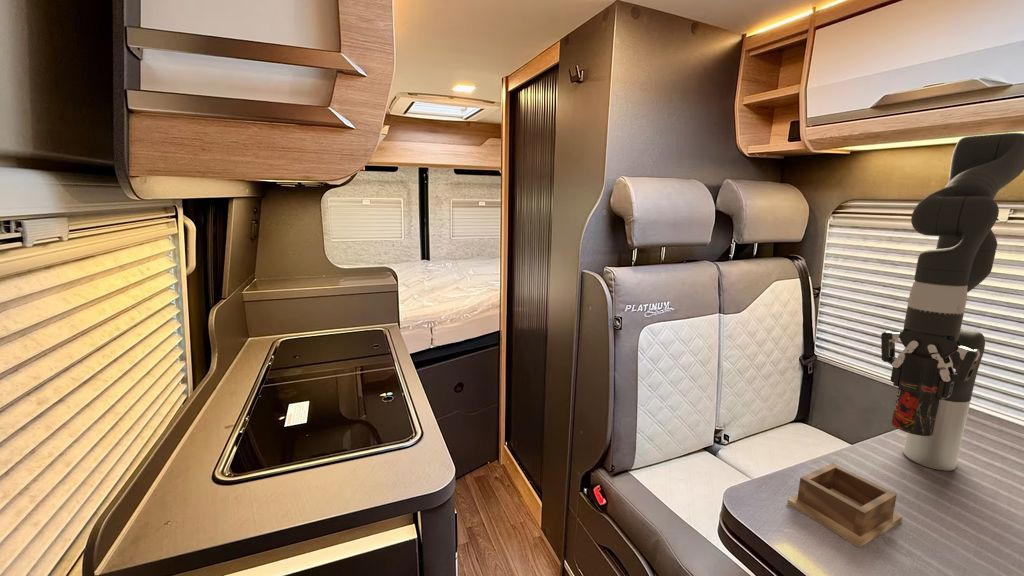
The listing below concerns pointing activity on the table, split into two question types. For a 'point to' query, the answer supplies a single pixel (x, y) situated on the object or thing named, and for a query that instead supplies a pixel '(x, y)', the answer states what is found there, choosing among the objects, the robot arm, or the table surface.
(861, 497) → the holder
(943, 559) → the table surface
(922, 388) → the deodorant
